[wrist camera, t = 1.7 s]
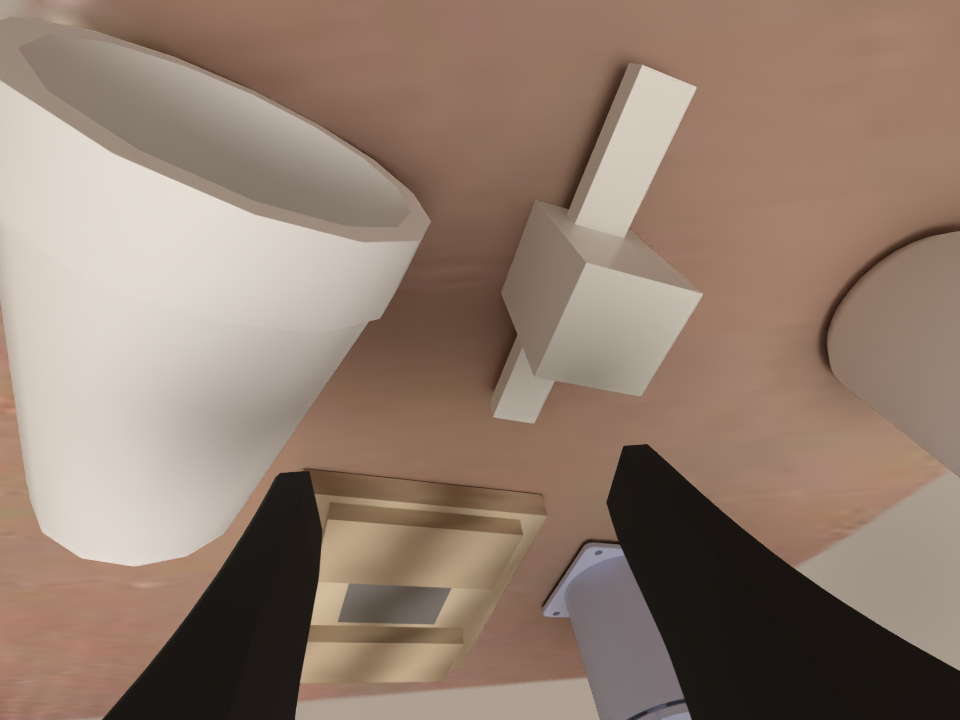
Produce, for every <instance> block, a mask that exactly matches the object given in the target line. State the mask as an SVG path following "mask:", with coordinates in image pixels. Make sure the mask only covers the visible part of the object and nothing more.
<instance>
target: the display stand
mask: <svg viewBox="0 0 960 720" xmlns="http://www.w3.org/2000/svg"><path fill="white" fill-rule="evenodd" d="M304 471H310V475H311V480H312V485H313V489H314V494H315V498H316V503H317V507H318V512H319V516H320V521H321V526H322V545H321V560H320V572H319V580H318V586H317V592H316V597H315V603H314V609H313V614H312V620H311V625H310V631H309V636H308V642H307V647H306V652H305V658H304V663H303V669H302V674H301V680H300V683H366V682H443V680H444V678H445V676H446V675H447V673H448V671H449V670H460V668H461V666H462V665H463V663H464V661H465V659H466V658H467V656H468V654H469V652H470V651H471V649H472V647H473V646H474V644H475V642H476V640H477V639H478V637H479V635H480V633H481V632H482V630H483V628H484V626H485V625H486V623H487V621H488V619H489V618H490V616H491V614H492V612H493V611H494V609H495V607H496V605H497V604H498V602H499V600H500V598H501V597H502V595H503V593H504V592H505V590H506V588H507V586H508V585H509V583H510V581H511V579H512V578H513V576H514V574H515V572H516V571H517V569H518V567H519V565H520V564H521V562H522V560H523V558H524V557H525V555H526V553H527V551H528V550H529V548H530V546H531V544H532V543H533V541H534V539H535V538H536V536H537V534H538V532H539V531H540V529H541V527H542V525H543V524H544V522H545V520H546V518H547V517H548V515H547V512H546V509H545V505H544V502H543V499H542V496H541V495H540V494H531V493H522V492H513V491H503V490H494V489H485V488H476V487H467V486H457V485H448V484H439V483H430V482H421V481H411V480H402V479H393V478H384V477H375V476H365V475H356V474H347V473H338V472H329V471H320V470H310V469H304Z"/></svg>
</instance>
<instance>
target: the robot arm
mask: <svg viewBox="0 0 960 720" xmlns="http://www.w3.org/2000/svg"><path fill="white" fill-rule="evenodd" d="M606 503H607V506H608V509H609V513H610V516H611V519H612V523H613V526H614V529H615V532H616V535H617V538H618V541H619V544H620V545H618V544H606V543H593V542H592V543H587V544H586V545H584V546H583V548H582V549H581V551H580V552H579V554H578V555H577V557H576V558H575V560H574V561H573V563H572V565H571V566H570V568H569V569H568V571H567V572H566V574H565V575H564V577H563V578H562V580H561V581H560V583H559V584H558V586H557V587H556V589H555V590H554V592H553V593H552V595H551V596H550V598H549V599H548V601H547V602H546V604H545V605H544V607H543V608H542V612H543V615H544V616H546V617H568V618H570V621H571V624H572V627H573V631H574V634H575V637H576V641H577V644H578V647H579V651H580V654H581V658H582V661H583V664H584V668H585V671H586V674H587V678H588V681H589V684H590V688H591V691H592V695H593V698H594V701H595V705H596V708H597V711H598V715H599V718H600V720H960V671H959V670H957V669H955V668H953V667H952V666H950V665H948V664H946V663H944V662H943V661H941V660H939V659H937V658H936V657H934V656H932V655H930V654H928V653H927V652H925V651H923V650H921V649H919V648H918V647H916V646H914V645H912V644H910V643H909V642H907V641H905V640H904V639H902V638H900V637H899V636H897V635H895V634H894V633H892V632H890V631H888V630H887V629H885V628H883V627H881V626H880V625H879V624H877V623H875V622H874V621H872V620H871V619H869V618H867V617H866V616H864V615H863V614H861V613H860V612H858V611H856V610H855V609H853V608H852V607H850V606H848V605H847V604H845V603H843V602H842V601H841V600H839V599H837V598H836V597H834V596H833V595H832V594H830V593H828V592H827V591H826V590H824V589H822V588H821V587H820V586H818V585H817V584H815V583H814V582H813V581H811V580H810V579H808V578H807V577H806V576H804V575H803V574H801V573H800V572H798V571H797V570H796V569H794V568H793V567H791V566H790V565H789V564H787V563H786V562H785V561H783V560H782V559H781V558H779V557H778V556H777V555H775V554H774V553H773V552H771V551H770V550H769V549H768V548H766V547H765V546H764V545H763V544H761V543H760V542H759V541H757V540H756V539H755V538H754V537H752V536H751V535H750V534H749V533H747V532H746V531H745V530H744V529H742V528H741V527H740V526H739V525H738V524H736V523H735V522H734V521H733V520H732V519H730V518H729V517H728V516H727V515H726V514H725V513H723V512H722V511H721V510H720V509H719V508H718V507H717V506H715V505H714V504H713V503H712V502H711V501H710V500H709V499H707V498H706V497H705V496H704V495H703V494H702V493H701V492H700V491H698V490H697V489H696V488H695V487H694V486H693V485H692V484H691V483H690V482H688V481H687V480H686V479H685V478H684V477H683V476H682V475H681V474H680V473H679V472H678V471H676V470H675V469H674V468H673V467H672V466H671V465H670V464H669V463H668V462H667V461H666V460H664V459H663V458H662V457H661V456H660V455H659V454H658V453H657V452H656V451H654V450H653V449H652V448H651V447H650V446H649V445H648V444H644V445H631V446H623V449H622V452H621V456H620V459H619V462H618V466H617V469H616V472H615V476H614V479H613V482H612V486H611V489H610V492H609V496H608V499H607V502H606ZM321 545H322V526H321V521H320V516H319V512H318V507H317V503H316V498H315V494H314V489H313V485H312V480H311V475H310V471H302V472H289V473H280V474H279V475H278V476H276V477H275V479H274V481H273V483H272V485H271V487H270V489H269V491H268V492H267V494H266V496H265V498H264V500H263V501H262V503H261V505H260V507H259V508H258V510H257V512H256V514H255V515H254V517H253V519H252V520H251V522H250V524H249V525H248V527H247V529H246V530H245V532H244V534H243V535H242V537H241V538H240V540H239V541H238V543H237V544H236V546H235V548H234V549H233V551H232V552H231V554H230V555H229V557H228V558H227V560H226V562H225V563H224V565H223V566H222V568H221V569H220V571H219V572H218V574H217V575H216V577H215V578H214V579H213V581H212V582H211V584H210V585H209V586H208V588H207V589H206V591H205V592H204V593H203V595H202V596H201V598H200V599H199V600H198V602H197V603H196V605H195V606H194V608H193V609H192V610H191V612H190V613H189V614H188V616H187V617H186V618H185V620H184V621H183V622H182V624H181V625H180V626H179V628H178V629H177V630H176V632H175V633H174V634H173V636H172V637H171V638H170V639H169V641H168V642H167V643H166V644H165V646H164V647H163V648H162V649H161V651H160V652H159V653H158V654H157V656H156V657H155V658H154V659H153V661H152V662H151V663H150V664H149V666H148V667H147V668H146V669H145V670H144V672H143V673H142V674H141V675H140V676H139V678H138V679H137V680H136V681H135V682H134V683H133V685H132V686H131V687H130V688H129V689H128V690H127V691H126V693H125V694H124V695H123V696H122V697H121V698H120V700H119V701H118V702H117V703H116V704H115V705H114V707H113V708H112V709H111V710H110V711H109V712H108V713H107V715H106V716H105V717H104V718H103V719H102V720H295V713H296V706H297V699H298V692H299V685H300V680H301V674H302V669H303V663H304V658H305V652H306V647H307V642H308V636H309V631H310V625H311V620H312V614H313V609H314V603H315V597H316V592H317V586H318V580H319V572H320V560H321Z"/></svg>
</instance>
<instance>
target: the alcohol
mask: <svg viewBox="0 0 960 720" xmlns="http://www.w3.org/2000/svg"><path fill="white" fill-rule="evenodd" d="M827 349H828V356H829V361H830V366H831V370H832V372H833V374H834V376H835V378H836V379H837V380H838V381H840V382H841V383H842V384H843V385H844V386H845V387H846V388H848V389H849V390H850V391H851V392H853V393H854V394H855V395H856V396H858V397H859V398H860V399H861V400H863V401H864V402H865V403H866V404H868V405H869V406H870V407H872V408H873V409H874V410H875V411H877V412H878V413H879V414H880V415H882V416H883V417H884V418H885V419H887V420H888V421H889V422H890V423H892V424H893V425H894V426H895V427H897V428H898V429H899V430H900V431H902V432H903V433H904V434H905V435H907V436H908V437H909V438H910V439H912V440H913V441H914V442H915V443H917V444H918V445H919V446H920V447H922V448H923V449H924V450H925V451H927V452H928V453H929V454H931V455H932V456H933V457H934V458H936V459H937V460H938V461H939V462H941V463H942V464H943V465H944V466H946V467H947V468H948V469H949V470H951V471H952V472H953V473H955V474H956V475H957V476H958V477H960V231H957V232H951V233H946V234H940V235H935V236H929V237H926V238H923V239H920V240H917V241H915V242H912V243H910V244H908V245H906V246H904V247H902V248H900V249H898V250H896V251H894V252H893V253H891V254H890V255H888V256H887V257H885V258H884V259H882V260H881V261H879V262H878V263H877V264H876V265H874V266H873V267H872V268H871V269H870V270H869V271H867V272H866V273H865V274H864V275H863V276H862V277H861V278H860V279H859V280H858V281H857V282H856V283H855V284H854V285H853V287H852V288H851V289H850V290H849V291H848V293H847V294H846V295H845V297H844V298H843V300H842V301H841V302H840V304H839V306H838V308H837V309H836V311H835V313H834V315H833V317H832V320H831V323H830V326H829V329H828V334H827Z"/></svg>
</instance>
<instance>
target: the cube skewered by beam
mask: <svg viewBox="0 0 960 720" xmlns="http://www.w3.org/2000/svg"><path fill="white" fill-rule="evenodd" d="M696 88H697V87H695V86H693V85H690V84H688V83H685V82H683V81H680V80H678V79H676V78H673V77H671V76H668V75H666V74H664V73H661V72H659V71H656V70H654V69H651V68H649V67H647V66H644V65H641V64H635V63H629V64H628V67H627V69H626V72H625V74H624V77H623V79H622V82H621V84H620V86H619V89H618V91H617V94H616V96H615V99H614V101H613V103H612V106H611V108H610V111H609V113H608V116H607V118H606V120H605V123H604V125H603V128H602V130H601V133H600V135H599V137H598V140H597V142H596V145H595V147H594V150H593V152H592V154H591V157H590V159H589V162H588V164H587V167H586V169H585V172H584V174H583V176H582V179H581V181H580V184H579V186H578V189H577V191H576V193H575V196H574V198H573V201H572V203H571V206H570V208H569V209H565V208H562V207H559V206H555V205H552V204H549V203H545V202H542V201H538V200H535V202H534V205H533V208H532V211H531V213H530V216H529V219H528V221H527V224H526V227H525V229H524V232H523V235H522V238H521V240H520V243H519V246H518V248H517V251H516V254H515V256H514V259H513V262H512V264H511V267H510V270H509V273H508V275H507V278H506V281H505V283H504V286H503V289H502V291H501V294H502V297H503V299H504V302H505V305H506V307H507V310H508V312H509V315H510V317H511V320H512V322H513V325H514V327H515V330H516V332H517V337H516V339H515V342H514V344H513V347H512V349H511V351H510V354H509V356H508V359H507V361H506V364H505V366H504V369H503V371H502V373H501V376H500V378H499V381H498V383H497V386H496V388H495V390H494V393H493V395H492V398H491V400H490V407H491V411H492V415H493V417H495V418H501V419H508V420H514V421H521V422H527V423H535V421H536V419H537V417H538V414H539V412H540V410H541V408H542V406H543V404H544V402H545V400H546V398H547V396H548V394H549V392H550V390H551V388H552V386H553V384H554V381H558V382H564V383H569V384H575V385H580V386H585V387H591V388H596V389H602V390H607V391H613V392H618V393H623V394H629V395H634V396H640V397H641V396H642V394H643V392H644V391H645V389H646V387H647V386H648V384H649V383H650V381H651V379H652V378H653V376H654V374H655V373H656V371H657V369H658V368H659V366H660V364H661V363H662V361H663V360H664V358H665V356H666V355H667V353H668V351H669V350H670V348H671V346H672V345H673V343H674V342H675V340H676V338H677V337H678V335H679V333H680V332H681V330H682V328H683V327H684V325H685V323H686V322H687V320H688V319H689V317H690V315H691V314H692V312H693V310H694V309H695V307H696V305H697V304H698V302H699V300H700V299H701V297H702V296H703V293H702V292H701V291H700V290H698V289H697V288H696V287H695V286H694V285H693V284H692V283H690V282H689V281H688V280H687V279H686V278H685V277H684V276H682V275H681V274H680V273H679V272H678V271H677V270H676V269H674V268H673V267H672V266H671V265H670V264H669V263H667V262H666V261H665V260H664V259H663V258H662V257H661V256H659V255H658V254H657V253H656V252H655V251H654V250H653V249H651V248H650V247H649V246H648V245H647V244H646V243H644V242H643V241H642V240H641V239H640V238H639V237H638V236H636V235H635V234H634V233H633V232H632V231H631V230H630V229H629V227H630V225H631V223H632V221H633V218H634V216H635V214H636V212H637V210H638V208H639V206H640V204H641V202H642V200H643V198H644V196H645V194H646V192H647V190H648V188H649V185H650V183H651V181H652V179H653V177H654V175H655V173H656V171H657V169H658V167H659V165H660V163H661V161H662V159H663V157H664V154H665V152H666V150H667V148H668V146H669V144H670V142H671V140H672V138H673V136H674V134H675V132H676V130H677V128H678V126H679V124H680V121H681V119H682V117H683V115H684V113H685V111H686V109H687V107H688V105H689V103H690V101H691V99H692V97H693V95H694V93H695V91H696Z"/></svg>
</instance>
